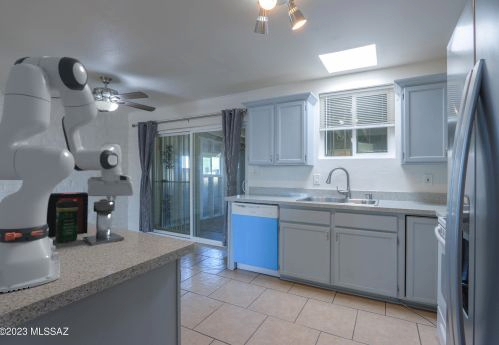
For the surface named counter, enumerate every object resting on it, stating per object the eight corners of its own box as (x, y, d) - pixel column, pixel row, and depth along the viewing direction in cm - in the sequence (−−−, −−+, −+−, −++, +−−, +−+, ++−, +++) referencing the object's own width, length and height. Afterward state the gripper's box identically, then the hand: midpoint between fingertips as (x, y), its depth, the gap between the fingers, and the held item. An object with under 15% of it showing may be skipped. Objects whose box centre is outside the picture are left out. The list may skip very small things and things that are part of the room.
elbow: (115, 212, 115) (115, 201, 115) (93, 213, 111) (93, 202, 111) (113, 208, 128) (113, 198, 128) (93, 209, 123) (93, 199, 124)
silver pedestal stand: (124, 240, 117) (124, 211, 117) (91, 245, 107) (92, 214, 107) (113, 235, 126) (114, 208, 126) (82, 239, 116) (83, 211, 117)
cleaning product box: (45, 237, 118) (46, 194, 119) (45, 234, 125) (46, 193, 125) (87, 233, 129) (88, 193, 129) (84, 230, 136) (85, 192, 136)
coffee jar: (79, 241, 114) (80, 199, 114) (56, 244, 108) (57, 200, 109) (75, 237, 121) (76, 197, 121) (54, 239, 116) (55, 198, 116)
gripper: (85, 177, 119) (85, 206, 119) (132, 177, 124) (132, 205, 124) (89, 176, 125) (89, 204, 126) (135, 176, 130) (134, 203, 131)
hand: (111, 205), depth 125 cm, fingers closed
